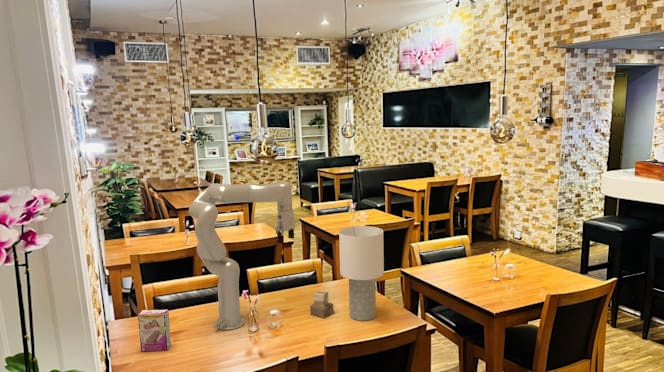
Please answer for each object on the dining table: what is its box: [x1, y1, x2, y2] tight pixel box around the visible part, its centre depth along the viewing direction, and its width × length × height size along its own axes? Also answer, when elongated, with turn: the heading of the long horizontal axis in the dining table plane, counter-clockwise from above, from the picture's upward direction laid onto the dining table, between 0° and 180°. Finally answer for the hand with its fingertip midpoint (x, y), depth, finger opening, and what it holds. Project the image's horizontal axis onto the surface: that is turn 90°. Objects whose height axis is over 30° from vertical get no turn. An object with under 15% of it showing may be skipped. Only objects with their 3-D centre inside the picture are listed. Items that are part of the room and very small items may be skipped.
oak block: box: [313, 290, 329, 307], centre depth 217 cm, size 5×5×6 cm
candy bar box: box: [137, 309, 172, 353], centre depth 187 cm, size 11×5×16 cm, turn 92°
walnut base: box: [309, 301, 335, 320], centre depth 218 cm, size 8×8×5 cm
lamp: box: [338, 225, 385, 322], centre depth 212 cm, size 21×21×42 cm
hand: (286, 240), depth 228 cm, fingers open, 9 cm apart
